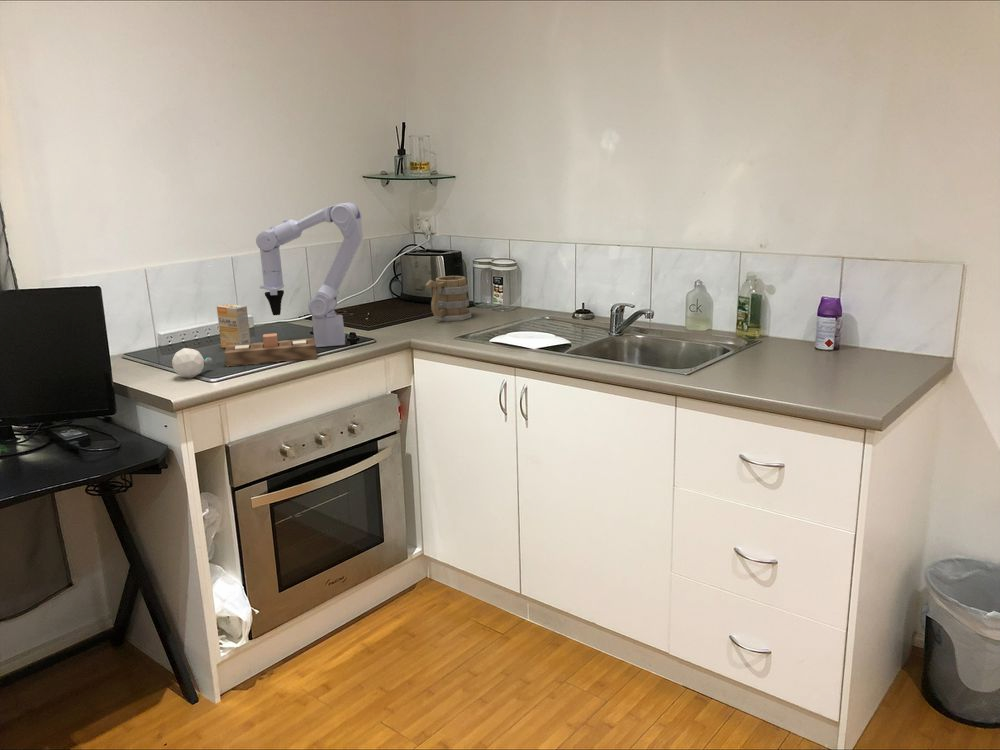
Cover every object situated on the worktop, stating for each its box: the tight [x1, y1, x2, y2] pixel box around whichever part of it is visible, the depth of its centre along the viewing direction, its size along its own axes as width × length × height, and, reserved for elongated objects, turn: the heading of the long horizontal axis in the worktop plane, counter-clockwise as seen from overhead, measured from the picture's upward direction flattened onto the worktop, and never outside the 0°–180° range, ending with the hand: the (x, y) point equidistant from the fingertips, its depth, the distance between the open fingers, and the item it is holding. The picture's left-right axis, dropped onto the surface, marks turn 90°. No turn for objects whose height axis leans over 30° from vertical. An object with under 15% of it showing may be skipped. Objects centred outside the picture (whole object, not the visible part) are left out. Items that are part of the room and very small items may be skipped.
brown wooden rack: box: [224, 337, 318, 368], centre depth 233 cm, size 25×10×4 cm, turn 104°
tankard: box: [425, 275, 472, 322], centre depth 279 cm, size 20×13×15 cm, turn 144°
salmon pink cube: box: [262, 332, 279, 348], centre depth 233 cm, size 4×4×4 cm
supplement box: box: [216, 303, 251, 349], centre depth 247 cm, size 8×5×13 cm, turn 62°
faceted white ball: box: [171, 347, 213, 379], centre depth 218 cm, size 8×8×12 cm
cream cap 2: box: [293, 340, 306, 345], centre depth 235 cm, size 4×4×4 cm
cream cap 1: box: [235, 345, 250, 350], centre depth 231 cm, size 4×4×4 cm
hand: (276, 314), depth 249 cm, fingers closed
